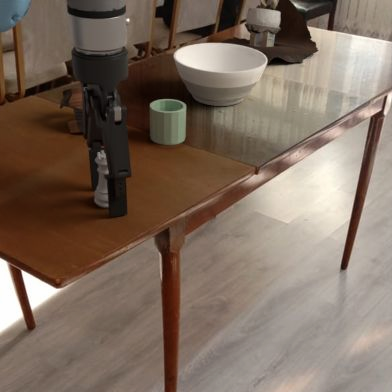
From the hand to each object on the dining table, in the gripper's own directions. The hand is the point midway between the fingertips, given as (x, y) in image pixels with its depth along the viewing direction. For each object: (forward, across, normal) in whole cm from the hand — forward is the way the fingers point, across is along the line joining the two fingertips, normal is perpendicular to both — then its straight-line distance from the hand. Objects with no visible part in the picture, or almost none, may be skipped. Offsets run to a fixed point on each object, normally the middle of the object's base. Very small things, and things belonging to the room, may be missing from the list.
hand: (109, 200), depth 98 cm
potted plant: (0, +61, -63) cm, 88 cm away
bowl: (0, +36, -36) cm, 51 cm away
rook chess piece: (0, 0, 0) cm, 0 cm away
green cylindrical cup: (0, +20, -18) cm, 27 cm away
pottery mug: (0, +30, -6) cm, 31 cm away
